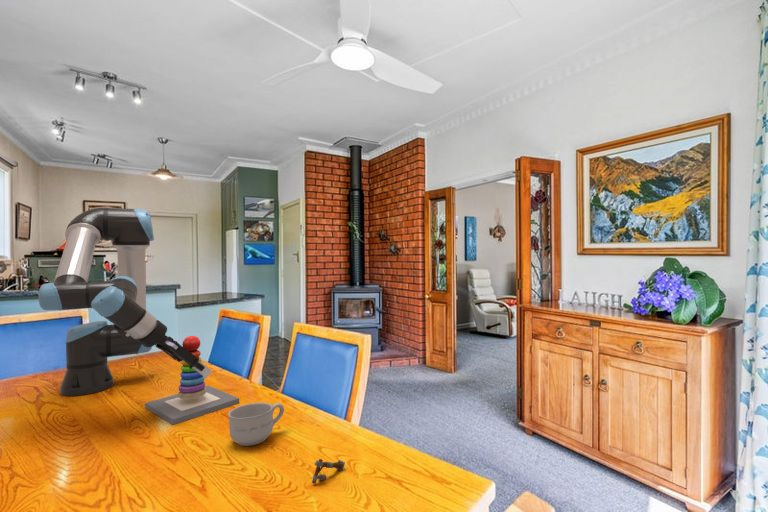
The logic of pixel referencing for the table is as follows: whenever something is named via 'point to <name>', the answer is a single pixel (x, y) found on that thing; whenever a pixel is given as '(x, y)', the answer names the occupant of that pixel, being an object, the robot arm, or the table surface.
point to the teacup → (253, 422)
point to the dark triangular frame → (337, 465)
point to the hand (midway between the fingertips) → (203, 372)
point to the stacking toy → (191, 373)
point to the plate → (190, 405)
